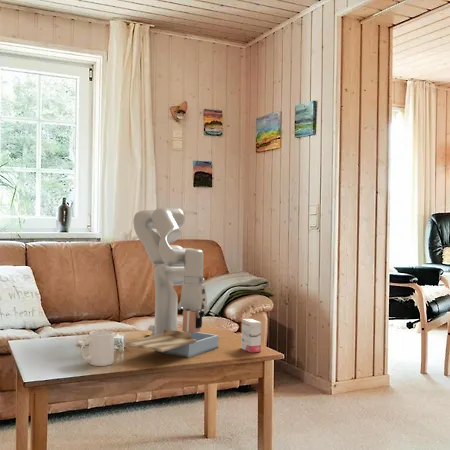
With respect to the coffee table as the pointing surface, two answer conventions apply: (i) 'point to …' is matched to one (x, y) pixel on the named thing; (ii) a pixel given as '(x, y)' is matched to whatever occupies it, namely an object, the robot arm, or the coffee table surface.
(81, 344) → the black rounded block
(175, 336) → the lid
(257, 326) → the ink box
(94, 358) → the mug
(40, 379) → the coffee table surface
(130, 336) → the coffee table surface
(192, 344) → the blue open box
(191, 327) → the parcel
